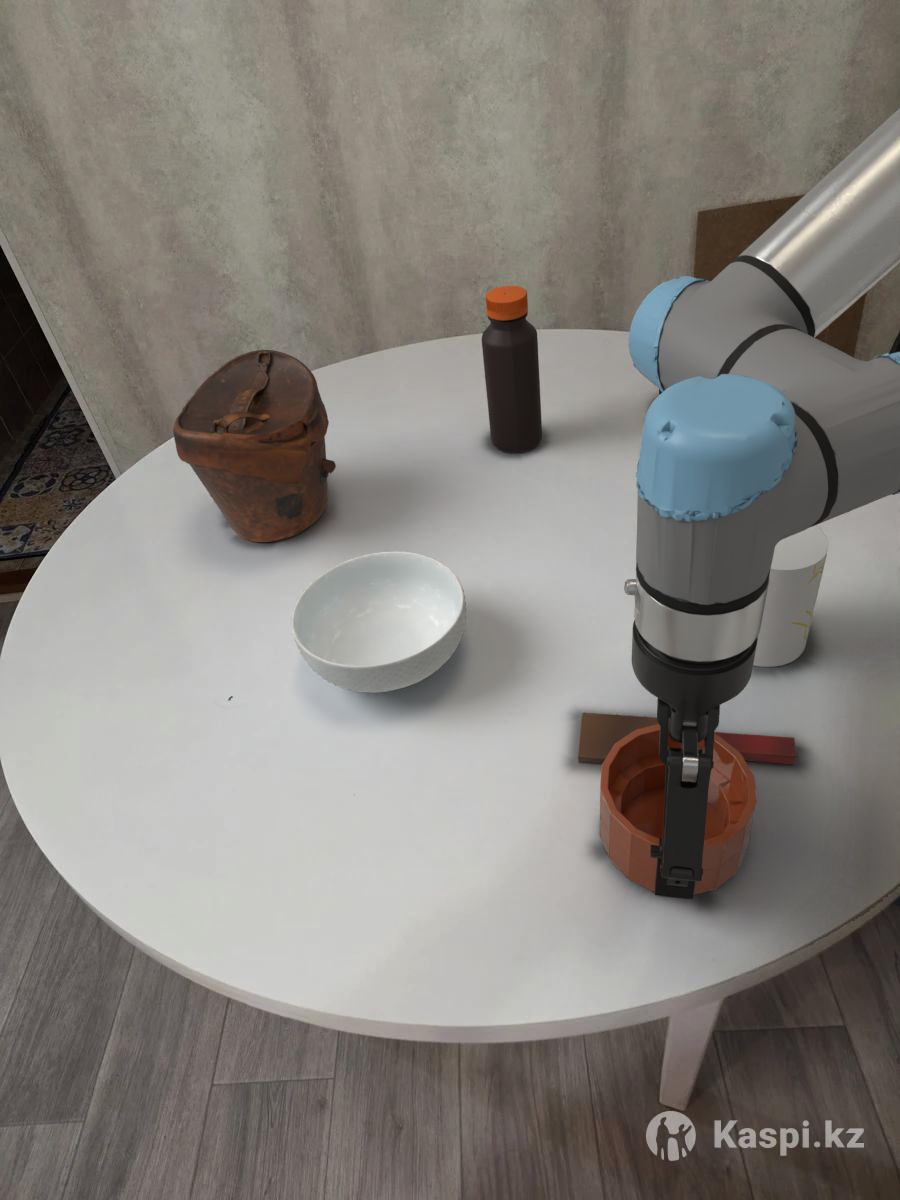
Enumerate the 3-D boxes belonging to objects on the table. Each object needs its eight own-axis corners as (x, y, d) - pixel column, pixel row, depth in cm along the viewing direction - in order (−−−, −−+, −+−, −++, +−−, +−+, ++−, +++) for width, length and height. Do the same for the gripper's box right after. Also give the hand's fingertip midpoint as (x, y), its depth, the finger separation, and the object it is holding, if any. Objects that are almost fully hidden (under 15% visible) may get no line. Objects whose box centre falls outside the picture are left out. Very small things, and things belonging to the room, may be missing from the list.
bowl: (740, 782, 72) (750, 729, 67) (749, 907, 64) (761, 857, 59) (604, 771, 74) (604, 719, 70) (596, 890, 66) (596, 840, 62)
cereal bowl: (456, 586, 95) (448, 535, 90) (486, 697, 82) (479, 645, 78) (302, 616, 94) (287, 567, 89) (310, 734, 81) (292, 684, 77)
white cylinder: (811, 668, 80) (835, 571, 72) (719, 664, 82) (733, 568, 74) (800, 609, 86) (822, 512, 78) (715, 606, 88) (728, 511, 80)
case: (227, 583, 99) (177, 450, 87) (193, 497, 114) (146, 372, 102) (371, 531, 104) (342, 398, 92) (321, 454, 118) (290, 330, 106)
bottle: (497, 425, 118) (485, 281, 105) (546, 427, 116) (540, 281, 103) (486, 452, 113) (471, 306, 100) (536, 455, 111) (528, 306, 98)
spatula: (790, 732, 75) (792, 723, 75) (796, 779, 72) (798, 770, 71) (582, 717, 79) (582, 709, 78) (578, 762, 76) (577, 753, 75)
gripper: (638, 507, 63) (630, 705, 77) (625, 776, 46) (618, 963, 60) (746, 510, 61) (717, 710, 76) (775, 788, 44) (730, 977, 59)
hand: (673, 823), depth 68 cm, fingers closed on bowl, 11 cm apart
